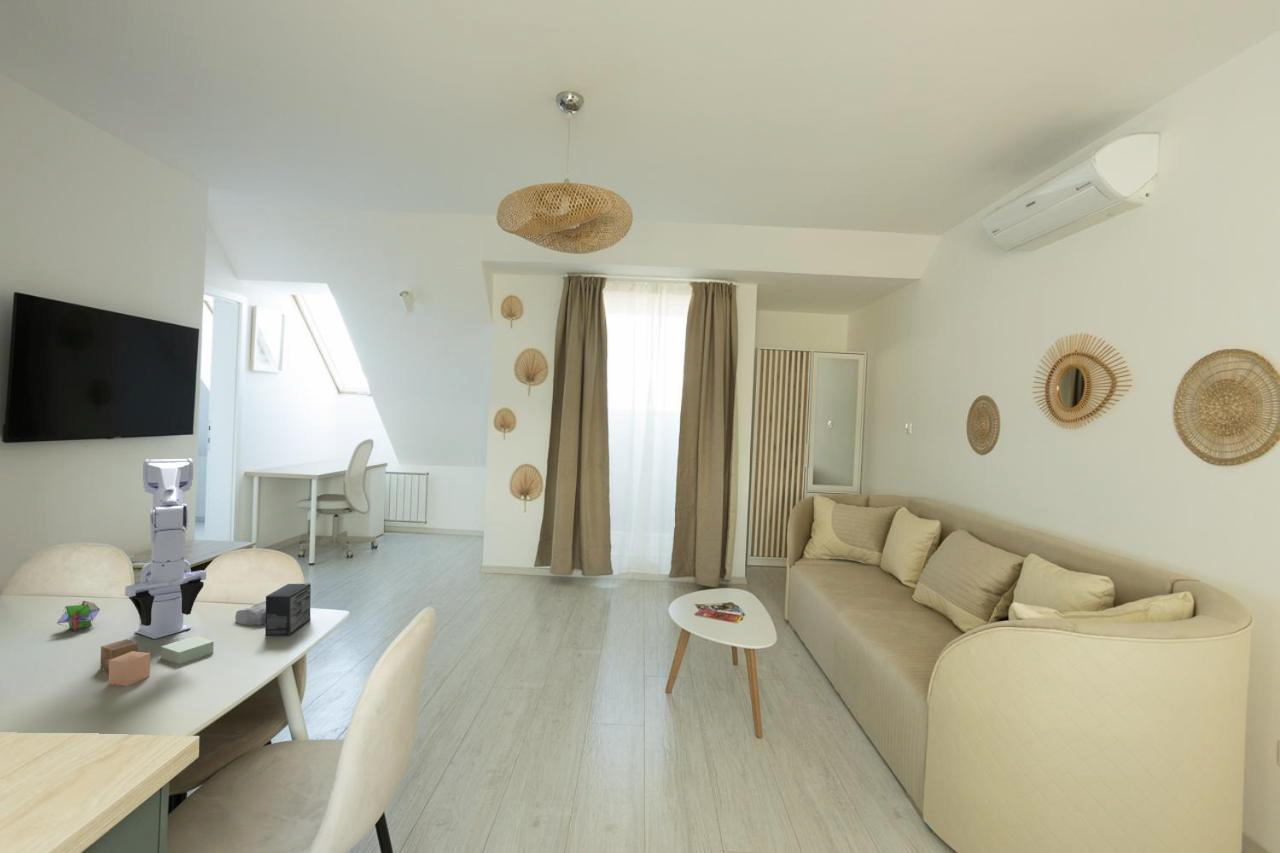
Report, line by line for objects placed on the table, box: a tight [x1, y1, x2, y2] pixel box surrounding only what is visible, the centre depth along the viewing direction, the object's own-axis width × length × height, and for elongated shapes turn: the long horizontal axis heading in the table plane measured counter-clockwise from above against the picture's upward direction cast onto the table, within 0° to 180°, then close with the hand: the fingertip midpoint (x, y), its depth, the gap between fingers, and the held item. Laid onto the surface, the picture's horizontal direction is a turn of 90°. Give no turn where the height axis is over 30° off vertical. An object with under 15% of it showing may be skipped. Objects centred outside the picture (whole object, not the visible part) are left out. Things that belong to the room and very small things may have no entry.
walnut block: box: [99, 638, 139, 673], centre depth 121 cm, size 4×4×5 cm
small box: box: [264, 583, 312, 637], centre depth 145 cm, size 11×6×10 cm, turn 5°
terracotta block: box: [108, 651, 151, 687], centre depth 115 cm, size 4×4×5 cm
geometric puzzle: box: [56, 600, 101, 633], centre depth 140 cm, size 7×7×8 cm
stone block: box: [234, 600, 266, 626], centre depth 152 cm, size 12×5×10 cm
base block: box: [160, 635, 214, 665], centre depth 127 cm, size 7×7×3 cm
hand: (166, 619), depth 124 cm, fingers open, 7 cm apart
